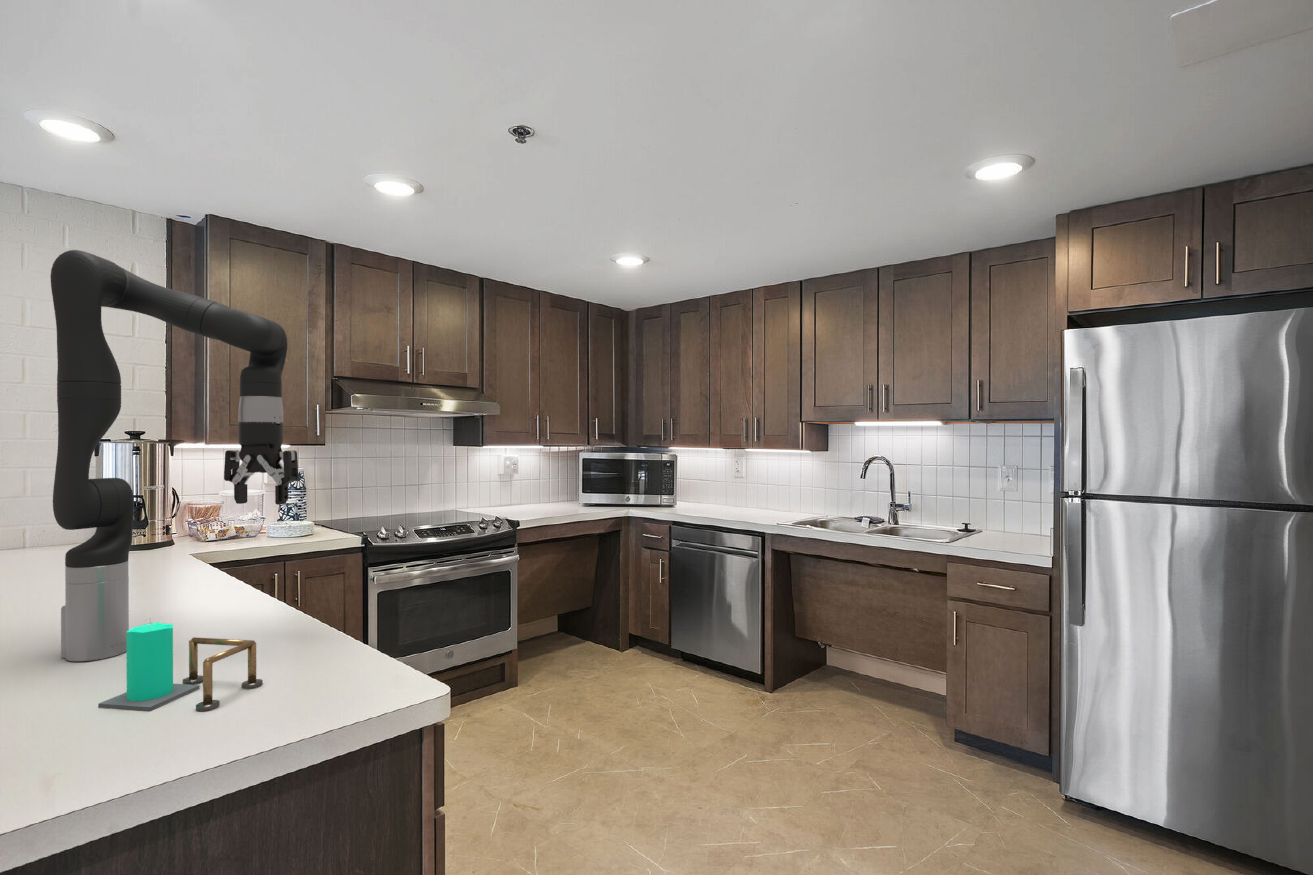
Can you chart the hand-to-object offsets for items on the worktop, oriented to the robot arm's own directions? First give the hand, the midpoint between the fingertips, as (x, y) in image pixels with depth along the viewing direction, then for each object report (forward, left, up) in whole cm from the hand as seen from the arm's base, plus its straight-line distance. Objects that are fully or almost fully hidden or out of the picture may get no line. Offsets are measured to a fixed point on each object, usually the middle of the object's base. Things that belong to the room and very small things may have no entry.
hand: (261, 503), depth 131 cm
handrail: (+8, -23, -28) cm, 37 cm away
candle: (+1, -25, -28) cm, 37 cm away
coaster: (+1, -25, -28) cm, 38 cm away
